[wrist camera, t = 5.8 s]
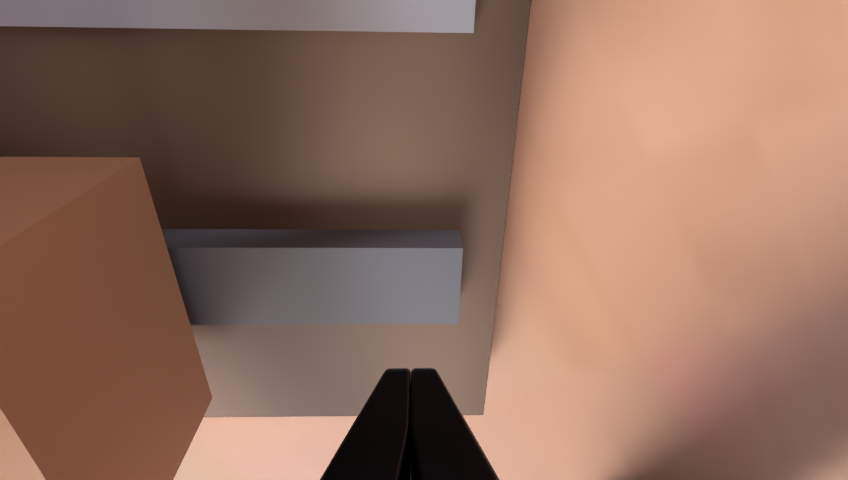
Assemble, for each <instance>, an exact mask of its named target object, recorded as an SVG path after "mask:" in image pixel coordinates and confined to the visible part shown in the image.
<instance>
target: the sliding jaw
mask: <svg viewBox="0 0 848 480" xmlns="http://www.w3.org/2000/svg"><path fill="white" fill-rule="evenodd" d="M211 400H212V395H211V391H210V388H209V385H208V381H207V378H206V375H205V372H204V368H203V365H202V362H201V358H200V355H199V352H198V348H197V345H196V342H195V339H194V335H193V332H192V329H191V325H190V322H189V319H188V315H187V312H186V309H185V306H184V302H183V299H182V296H181V292H180V289H179V286H178V282H177V279H176V276H175V273H174V269H173V266H172V263H171V259H170V256H169V253H168V250H167V246H166V243H165V240H164V236H163V233H162V230H161V226H160V223H159V220H158V217H157V213H156V210H155V207H154V203H153V200H152V197H151V193H150V190H149V187H148V184H147V180H146V177H145V174H144V170H143V167H142V164H141V160H140V158H134V157H0V480H173V479H174V477H175V474H176V472H177V470H178V468H179V466H180V464H181V462H182V460H183V458H184V456H185V454H186V452H187V450H188V448H189V446H190V444H191V441H192V439H193V437H194V435H195V433H196V431H197V429H198V427H199V425H200V423H201V421H202V419H203V417H204V415H205V413H206V410H207V408H208V406H209V404H210V402H211Z"/></svg>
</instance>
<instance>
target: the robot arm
mask: <svg viewBox="0 0 848 480" xmlns="http://www.w3.org/2000/svg"><path fill="white" fill-rule="evenodd" d="M320 480H499V478H498V476H497V475H496V473H495V471H494V469H493V468H492V466H491V464H490V462H489V461H488V459H487V457H486V456H485V454H484V452H483V450H482V449H481V447H480V445H479V443H478V442H477V440H476V438H475V436H474V435H473V433H472V431H471V429H470V428H469V426H468V424H467V422H466V421H465V419H464V417H463V415H462V414H461V412H460V410H459V408H458V407H457V405H456V403H455V401H454V400H453V398H452V396H451V394H450V393H449V391H448V389H447V388H446V386H445V384H444V382H443V381H442V379H441V377H440V375H439V374H438V372H437V371H436V370H435V369H434V368H414V369H412V371H411V372H410V370H409V369H408V368H389V369H387V370H385V372H384V373H383V375H382V376H381V378H380V380H379V381H378V383H377V385H376V386H375V388H374V390H373V391H372V393H371V395H370V397H369V398H368V400H367V402H366V403H365V405H364V407H363V408H362V410H361V412H360V413H359V415H358V417H357V418H356V420H355V422H354V423H353V425H352V427H351V428H350V430H349V432H348V434H347V435H346V437H345V439H344V440H343V442H342V444H341V445H340V447H339V449H338V450H337V452H336V454H335V455H334V457H333V459H332V460H331V462H330V464H329V465H328V467H327V469H326V470H325V472H324V474H323V476H322V477H321V479H320Z"/></svg>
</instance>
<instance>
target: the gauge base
mask: <svg viewBox="0 0 848 480" xmlns="http://www.w3.org/2000/svg"><path fill="white" fill-rule="evenodd" d="M530 7H531V0H0V157H134V158H140V160H141V164H142V167H143V170H144V174H145V177H146V180H147V184H148V187H149V190H150V193H151V197H152V200H153V203H154V207H155V210H156V213H157V217H158V220H159V223H160V226H161V230H162V233H163V236H164V240H165V243H166V246H167V250H168V253H169V256H170V259H171V263H172V266H173V269H174V273H175V276H176V279H177V282H178V286H179V289H180V292H181V296H182V299H183V302H184V306H185V309H186V312H187V315H188V319H189V322H190V325H191V329H192V332H193V335H194V339H195V342H196V345H197V348H198V352H199V355H200V358H201V362H202V365H203V368H204V372H205V375H206V378H207V381H208V385H209V388H210V391H211V395H212V400H211V402H210V404H209V406H208V408H207V410H206V413H205V415H204V417H284V416H358V415H359V413H360V412H361V410H362V408H363V407H364V405H365V403H366V402H367V400H368V398H369V397H370V395H371V393H372V391H373V390H374V388H375V386H376V385H377V383H378V381H379V380H380V378H381V376H382V375H383V373H384V372H385V370H387V369H389V368H408V369H409V370H410V372H411V371H412V369H414V368H434V369H435V370H436V371H437V372H438V374H439V375H440V377H441V379H442V381H443V382H444V384H445V386H446V388H447V389H448V391H449V393H450V394H451V396H452V398H453V400H454V401H455V403H456V405H457V407H458V408H459V410H460V412H461V414H462V415H483V413H484V404H485V395H486V387H487V378H488V370H489V361H490V352H491V344H492V335H493V326H494V318H495V309H496V300H497V292H498V283H499V275H500V266H501V257H502V249H503V240H504V231H505V223H506V214H507V205H508V197H509V188H510V180H511V171H512V162H513V154H514V145H515V136H516V128H517V119H518V110H519V102H520V93H521V84H522V76H523V67H524V59H525V50H526V41H527V33H528V24H529V15H530Z"/></svg>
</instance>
